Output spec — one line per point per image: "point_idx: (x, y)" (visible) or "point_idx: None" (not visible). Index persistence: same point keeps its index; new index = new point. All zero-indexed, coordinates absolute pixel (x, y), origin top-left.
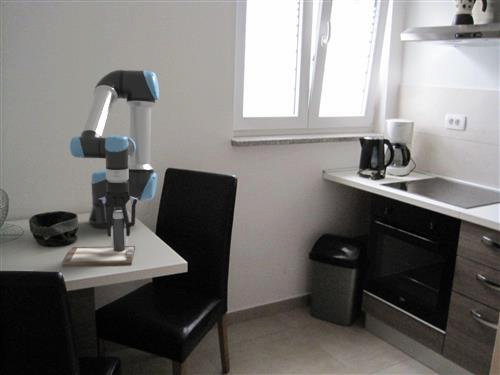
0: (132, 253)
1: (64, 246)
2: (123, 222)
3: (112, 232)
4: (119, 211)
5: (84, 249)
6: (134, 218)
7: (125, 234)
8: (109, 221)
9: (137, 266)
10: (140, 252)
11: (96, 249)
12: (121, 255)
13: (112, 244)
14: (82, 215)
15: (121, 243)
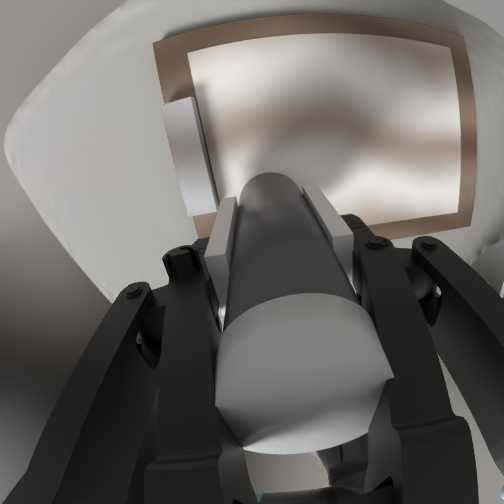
0: (167, 128)
1: (481, 251)
2: (226, 301)
3: (328, 219)
4: (292, 435)
5: (434, 195)
6: (94, 338)
7: (217, 229)
8: (393, 275)
9: (126, 40)
10: (165, 214)
11: (388, 197)
12: (232, 115)
13: (309, 186)
14: None
15: (250, 192)
